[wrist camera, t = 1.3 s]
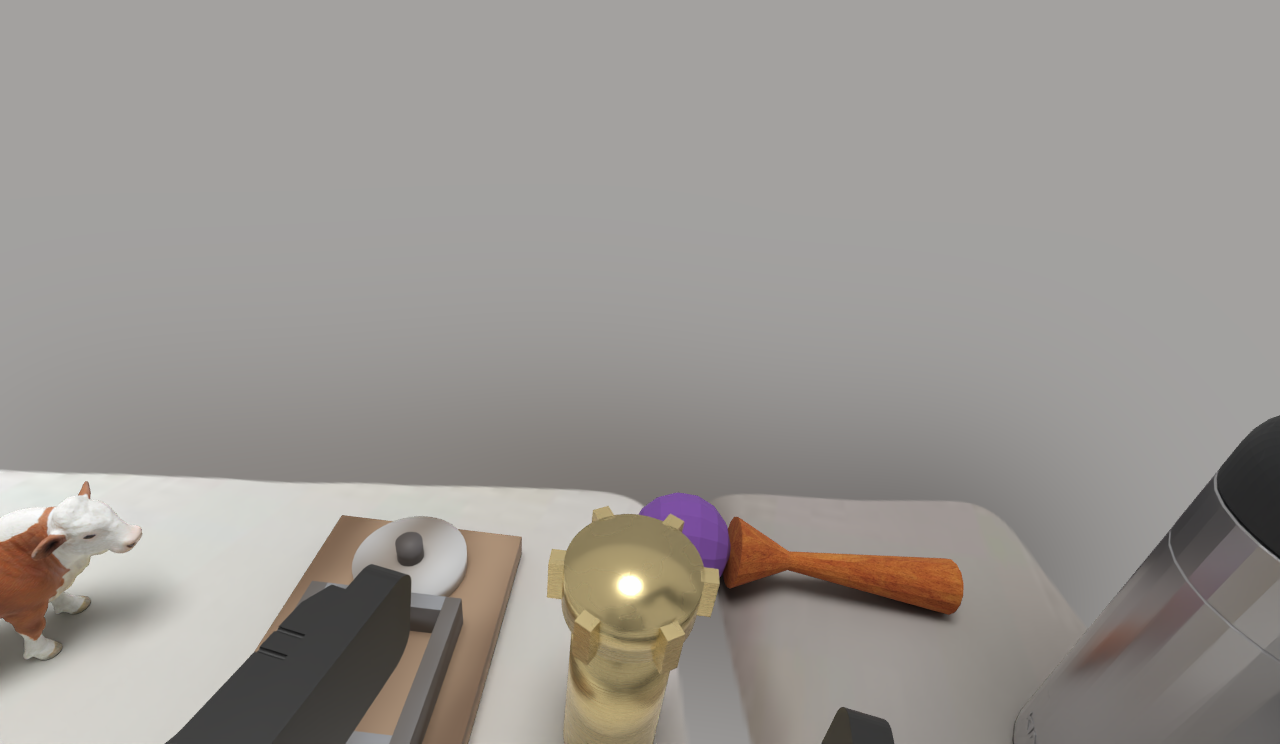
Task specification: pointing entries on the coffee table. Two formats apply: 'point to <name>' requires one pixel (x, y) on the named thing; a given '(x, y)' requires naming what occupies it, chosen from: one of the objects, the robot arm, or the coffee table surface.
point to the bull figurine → (53, 561)
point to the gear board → (424, 619)
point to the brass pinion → (626, 621)
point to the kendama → (807, 558)
